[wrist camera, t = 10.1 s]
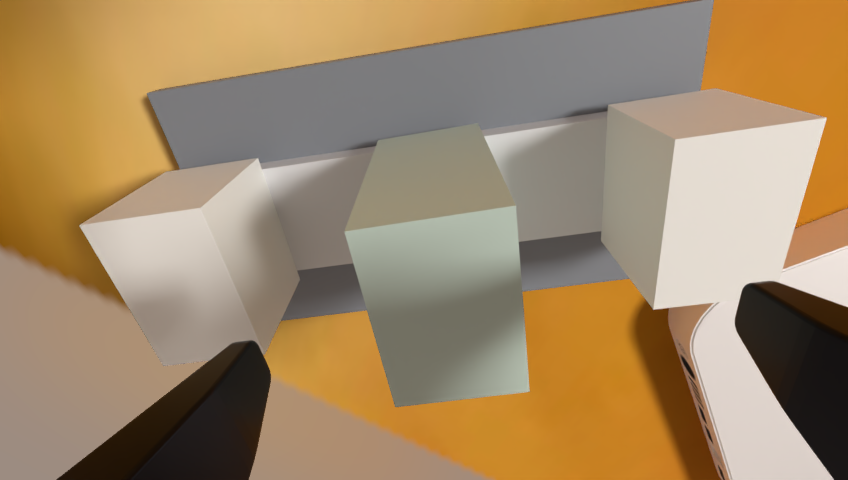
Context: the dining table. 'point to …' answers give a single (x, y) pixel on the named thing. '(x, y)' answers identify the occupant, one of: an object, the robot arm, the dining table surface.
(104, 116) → the dining table surface
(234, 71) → the dining table surface
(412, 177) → the block
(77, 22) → the dining table surface
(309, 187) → the rail board
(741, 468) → the computer
